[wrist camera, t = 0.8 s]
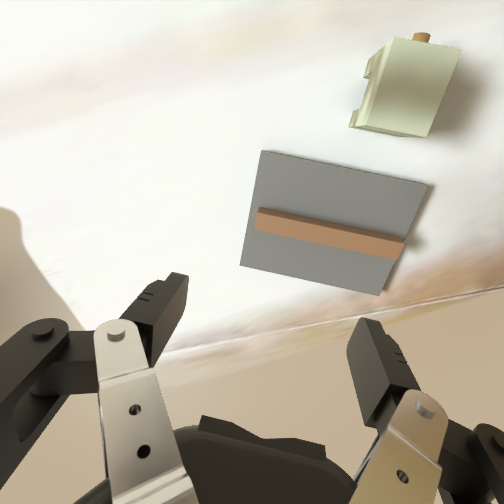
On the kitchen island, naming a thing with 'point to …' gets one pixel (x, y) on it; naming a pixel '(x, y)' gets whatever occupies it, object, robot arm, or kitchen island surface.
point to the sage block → (405, 86)
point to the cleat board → (331, 206)
